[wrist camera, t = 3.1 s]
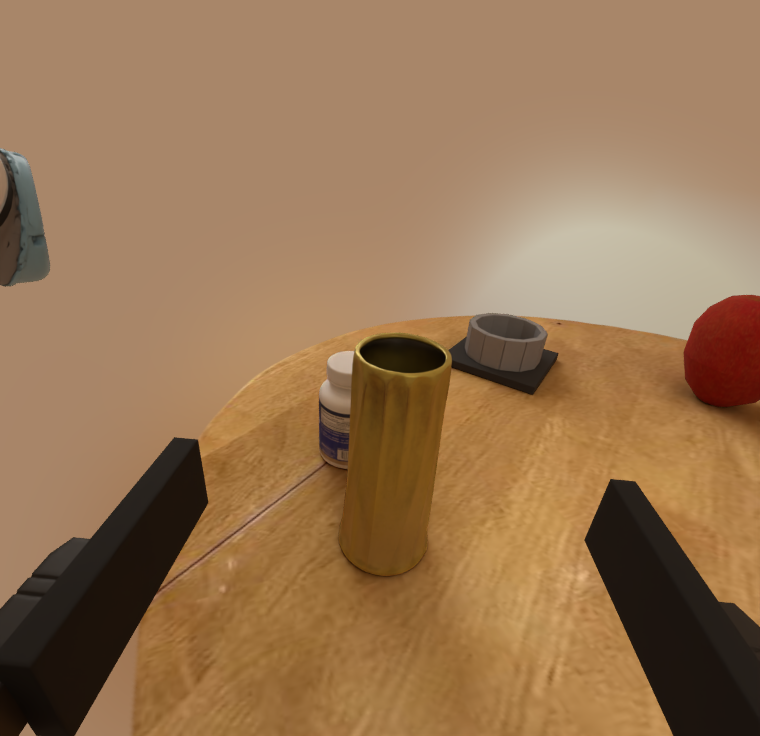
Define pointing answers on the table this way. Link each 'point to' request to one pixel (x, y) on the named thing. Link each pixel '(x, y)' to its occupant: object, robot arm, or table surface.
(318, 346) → the table surface
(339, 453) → the pill bottle
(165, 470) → the robot arm
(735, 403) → the apple
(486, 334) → the socket pad
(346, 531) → the vase
